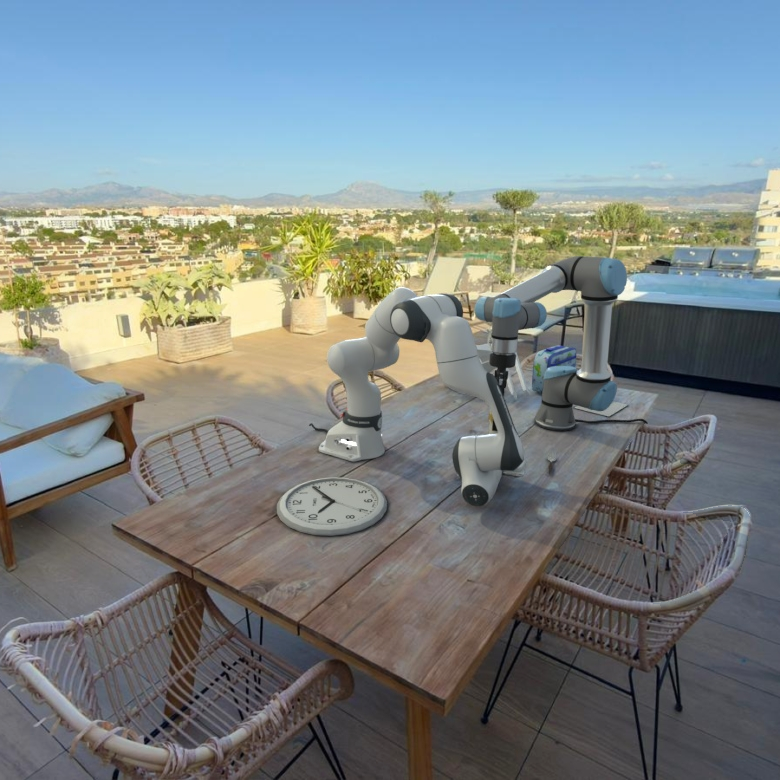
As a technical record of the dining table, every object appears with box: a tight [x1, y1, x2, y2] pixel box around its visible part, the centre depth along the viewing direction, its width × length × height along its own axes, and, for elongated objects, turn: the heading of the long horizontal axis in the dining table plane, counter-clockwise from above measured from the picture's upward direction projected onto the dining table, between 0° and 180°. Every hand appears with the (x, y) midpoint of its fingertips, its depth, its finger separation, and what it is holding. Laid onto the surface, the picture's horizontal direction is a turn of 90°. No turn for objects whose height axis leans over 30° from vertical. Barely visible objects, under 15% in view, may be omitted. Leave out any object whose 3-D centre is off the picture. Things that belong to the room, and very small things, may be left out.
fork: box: [547, 449, 557, 475], centre depth 169 cm, size 3×16×2 cm, turn 160°
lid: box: [488, 410, 493, 422], centre depth 157 cm, size 5×5×2 cm
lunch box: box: [531, 345, 577, 393], centre depth 245 cm, size 26×11×21 cm, turn 134°
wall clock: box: [276, 476, 388, 537], centre depth 142 cm, size 30×2×30 cm
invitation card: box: [573, 400, 629, 418], centre depth 226 cm, size 21×1×15 cm
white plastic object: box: [476, 342, 531, 400], centre depth 245 cm, size 37×45×31 cm
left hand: (495, 452), depth 162 cm, fingers closed on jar, 4 cm apart
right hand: (496, 427), depth 158 cm, fingers closed on lid, 5 cm apart
